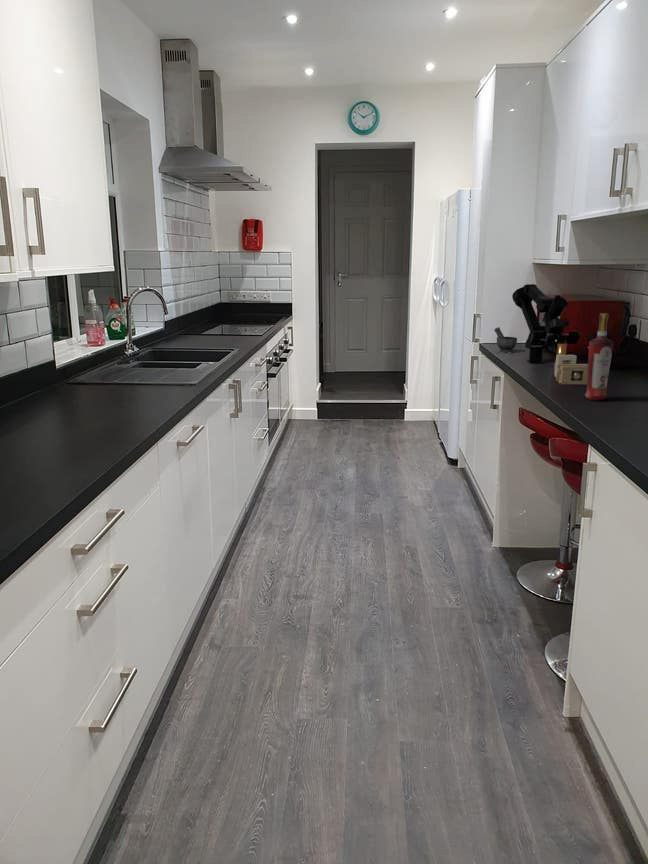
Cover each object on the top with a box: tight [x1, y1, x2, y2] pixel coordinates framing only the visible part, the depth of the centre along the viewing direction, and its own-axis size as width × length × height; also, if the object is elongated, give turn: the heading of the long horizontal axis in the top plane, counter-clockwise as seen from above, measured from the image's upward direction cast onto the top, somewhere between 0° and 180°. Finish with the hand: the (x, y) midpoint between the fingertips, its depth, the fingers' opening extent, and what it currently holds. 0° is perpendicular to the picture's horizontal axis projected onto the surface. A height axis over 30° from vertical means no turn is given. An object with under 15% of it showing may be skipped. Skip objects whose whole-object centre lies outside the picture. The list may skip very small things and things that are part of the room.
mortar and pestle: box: [494, 326, 518, 354], centre depth 322 cm, size 11×9×12 cm
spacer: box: [554, 354, 578, 378], centre depth 259 cm, size 3×7×8 cm, turn 87°
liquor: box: [584, 312, 614, 402], centre depth 217 cm, size 7×7×28 cm
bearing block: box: [555, 363, 588, 385], centre depth 248 cm, size 7×11×6 cm, turn 87°
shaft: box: [553, 342, 581, 379], centre depth 255 cm, size 23×6×12 cm, turn 177°
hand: (558, 354), depth 268 cm, fingers closed
